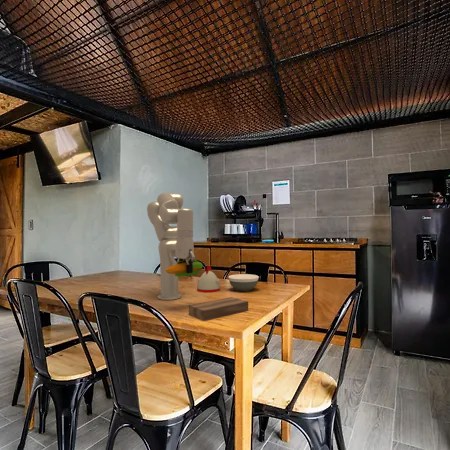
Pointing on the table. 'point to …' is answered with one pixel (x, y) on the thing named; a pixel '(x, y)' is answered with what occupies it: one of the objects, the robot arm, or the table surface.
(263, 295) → the table surface
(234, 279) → the bowl
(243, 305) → the board
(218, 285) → the kitchen timer
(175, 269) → the corn
